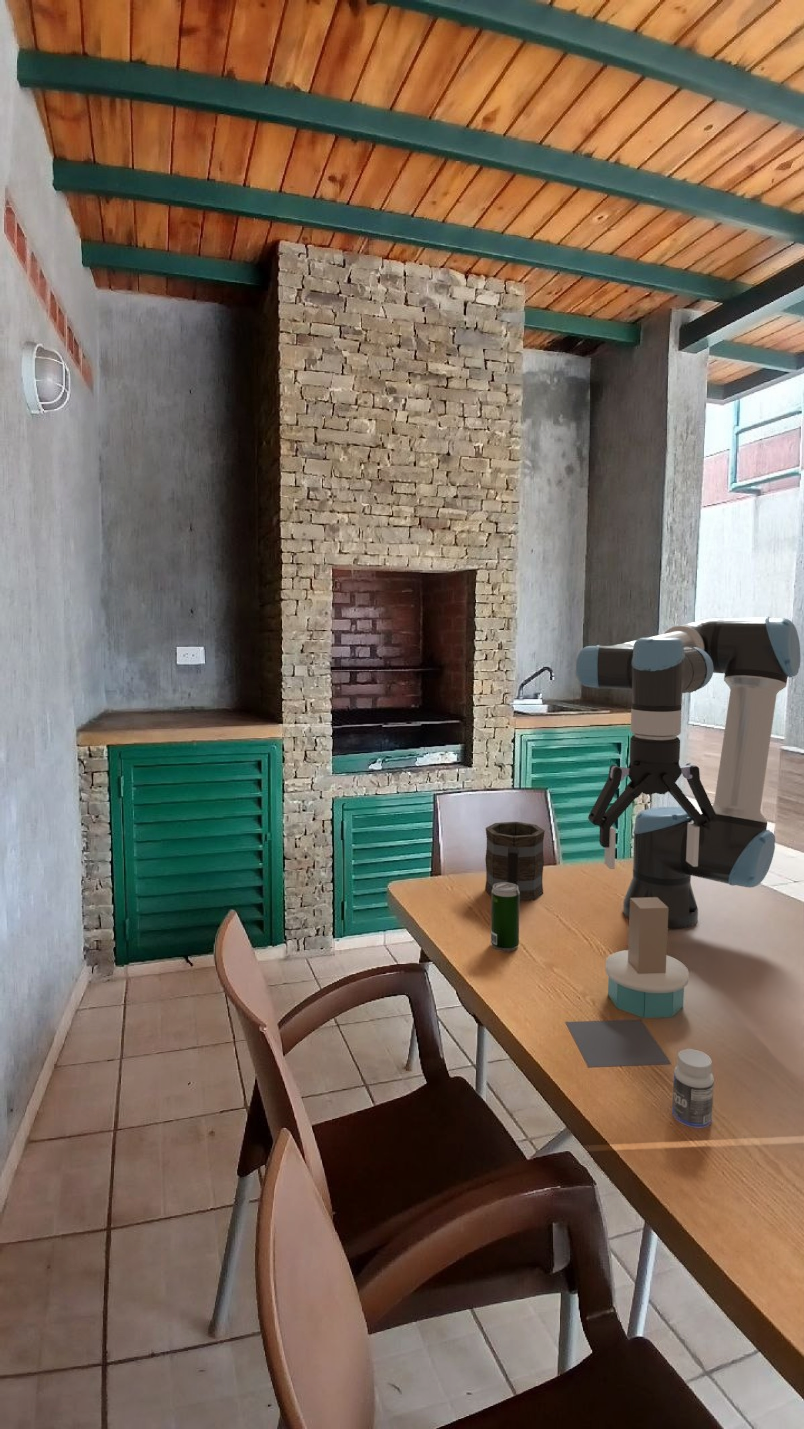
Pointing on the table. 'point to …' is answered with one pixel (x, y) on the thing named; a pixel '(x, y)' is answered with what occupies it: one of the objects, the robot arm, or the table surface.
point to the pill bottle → (693, 1089)
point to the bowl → (645, 1001)
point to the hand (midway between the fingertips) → (650, 865)
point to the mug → (515, 858)
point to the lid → (647, 952)
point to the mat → (616, 1043)
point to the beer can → (505, 916)
